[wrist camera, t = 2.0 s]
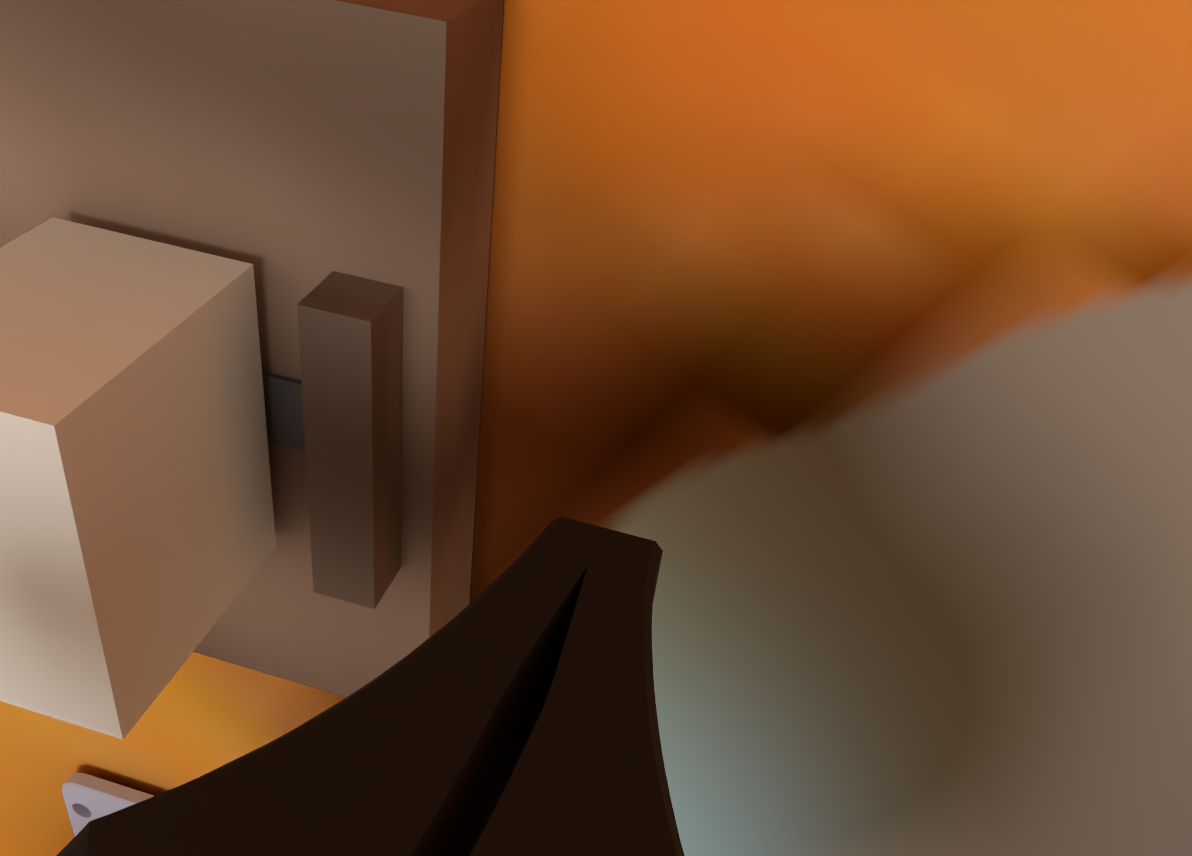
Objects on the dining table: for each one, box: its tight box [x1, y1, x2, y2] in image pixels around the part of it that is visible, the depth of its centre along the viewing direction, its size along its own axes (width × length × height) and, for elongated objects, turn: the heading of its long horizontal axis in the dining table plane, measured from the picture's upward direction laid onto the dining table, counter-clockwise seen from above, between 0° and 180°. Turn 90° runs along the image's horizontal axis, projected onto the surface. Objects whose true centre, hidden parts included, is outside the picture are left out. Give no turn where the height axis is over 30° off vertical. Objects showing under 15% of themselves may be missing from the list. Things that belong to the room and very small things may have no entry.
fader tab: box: [0, 217, 276, 740], centre depth 15 cm, size 5×3×4 cm, turn 174°
